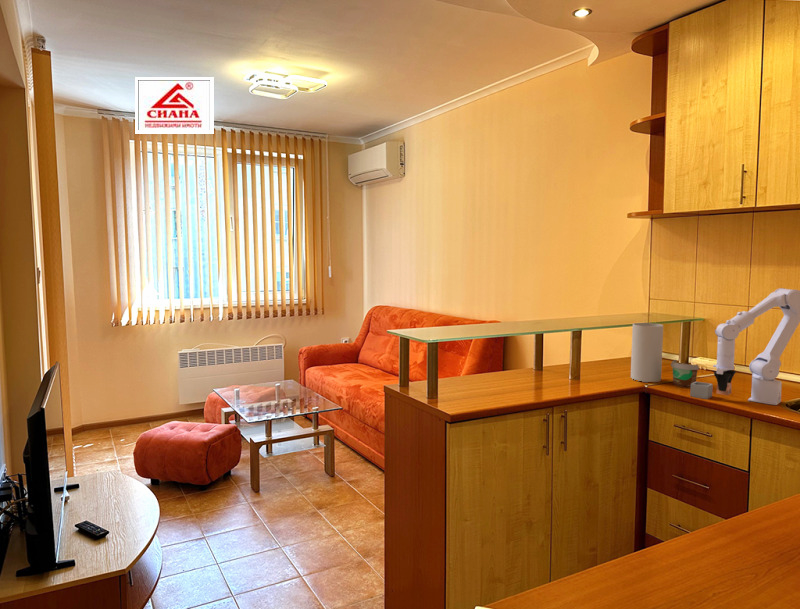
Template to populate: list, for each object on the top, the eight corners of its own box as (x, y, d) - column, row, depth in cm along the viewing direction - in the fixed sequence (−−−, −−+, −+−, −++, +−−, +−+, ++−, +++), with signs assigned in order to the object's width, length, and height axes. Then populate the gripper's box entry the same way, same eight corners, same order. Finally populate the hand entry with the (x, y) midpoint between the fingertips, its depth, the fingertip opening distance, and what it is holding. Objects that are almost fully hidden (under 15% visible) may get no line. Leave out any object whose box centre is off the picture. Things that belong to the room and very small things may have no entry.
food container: (663, 383, 243) (664, 360, 242) (674, 382, 245) (675, 359, 244) (687, 389, 232) (688, 365, 231) (698, 388, 234) (699, 364, 233)
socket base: (712, 396, 220) (712, 383, 220) (707, 399, 216) (707, 386, 216) (695, 393, 225) (695, 381, 224) (690, 396, 220) (690, 384, 220)
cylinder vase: (655, 377, 255) (657, 323, 253) (665, 383, 243) (667, 326, 240) (627, 376, 256) (628, 322, 254) (635, 382, 244) (637, 326, 242)
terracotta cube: (731, 393, 214) (731, 383, 214) (728, 395, 211) (728, 385, 211) (719, 391, 217) (719, 381, 217) (716, 393, 214) (717, 383, 214)
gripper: (719, 351, 221) (718, 384, 222) (708, 356, 210) (706, 391, 212) (739, 353, 216) (738, 387, 217) (729, 358, 206) (727, 394, 207)
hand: (724, 389), depth 214 cm, fingers closed on terracotta cube, 4 cm apart
